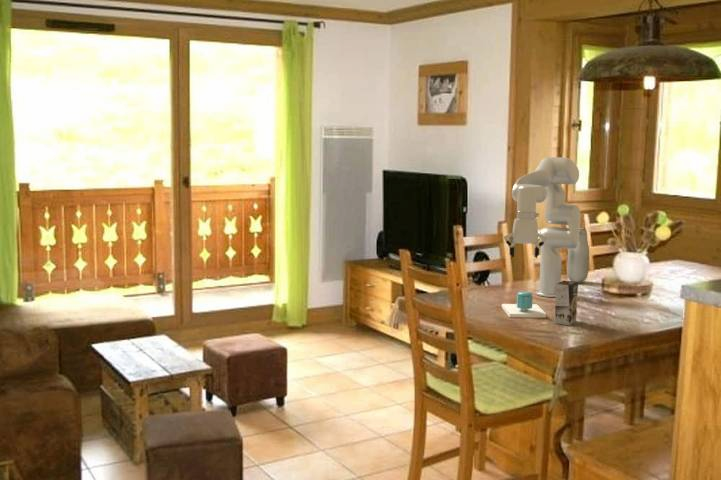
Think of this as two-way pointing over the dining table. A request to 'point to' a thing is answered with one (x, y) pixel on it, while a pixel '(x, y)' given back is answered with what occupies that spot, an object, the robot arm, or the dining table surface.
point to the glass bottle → (579, 259)
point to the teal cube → (524, 300)
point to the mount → (524, 311)
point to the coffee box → (566, 302)
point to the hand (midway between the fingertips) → (524, 257)
